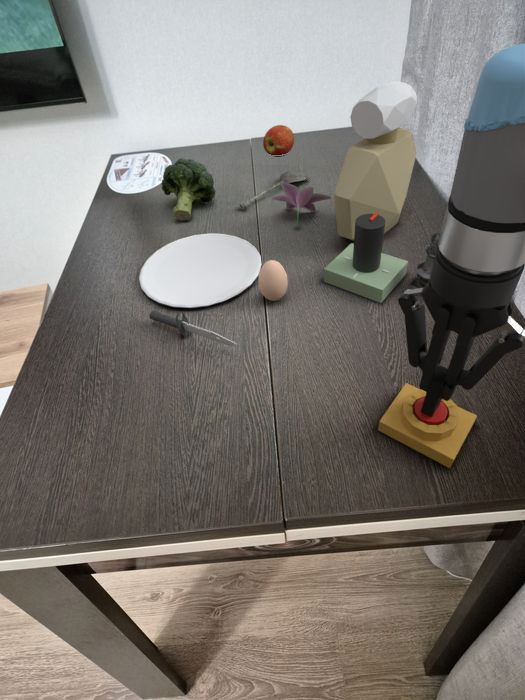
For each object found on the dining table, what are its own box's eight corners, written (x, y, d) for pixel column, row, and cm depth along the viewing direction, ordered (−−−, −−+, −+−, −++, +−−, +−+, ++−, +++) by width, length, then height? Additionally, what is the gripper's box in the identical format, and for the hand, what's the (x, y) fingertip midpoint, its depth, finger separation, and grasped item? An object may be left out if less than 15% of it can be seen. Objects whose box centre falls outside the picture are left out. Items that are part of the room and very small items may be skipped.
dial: (372, 275, 79) (377, 230, 72) (347, 267, 81) (350, 222, 74) (384, 261, 81) (390, 216, 74) (360, 254, 83) (364, 209, 77)
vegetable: (146, 214, 104) (160, 161, 108) (192, 237, 111) (203, 188, 115) (170, 193, 94) (184, 137, 98) (218, 221, 102) (230, 167, 106)
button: (449, 413, 58) (452, 405, 57) (437, 435, 56) (439, 427, 55) (420, 400, 60) (422, 392, 59) (407, 420, 58) (409, 412, 57)
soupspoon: (313, 182, 113) (294, 177, 117) (312, 169, 111) (294, 164, 115) (250, 214, 103) (232, 207, 107) (248, 200, 101) (230, 193, 105)
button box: (473, 424, 59) (481, 407, 56) (449, 468, 55) (457, 452, 52) (403, 392, 64) (408, 374, 61) (377, 430, 60) (380, 413, 57)
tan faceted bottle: (424, 214, 97) (453, 69, 77) (362, 266, 86) (376, 112, 66) (377, 199, 103) (392, 61, 83) (313, 246, 92) (313, 100, 72)
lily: (337, 225, 99) (336, 180, 96) (305, 228, 91) (304, 178, 88) (295, 227, 107) (293, 185, 104) (262, 230, 98) (260, 184, 96)
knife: (244, 350, 72) (239, 327, 68) (236, 359, 70) (230, 337, 67) (160, 320, 81) (152, 298, 77) (151, 327, 79) (142, 306, 76)
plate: (285, 254, 91) (285, 249, 90) (211, 328, 77) (210, 322, 76) (193, 227, 102) (192, 222, 101) (114, 287, 88) (112, 282, 87)
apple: (260, 157, 125) (257, 128, 119) (278, 147, 129) (276, 118, 124) (282, 163, 121) (280, 133, 116) (300, 152, 125) (299, 122, 120)
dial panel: (406, 274, 83) (408, 260, 81) (381, 303, 78) (382, 289, 76) (350, 255, 89) (351, 242, 86) (323, 281, 84) (323, 268, 81)
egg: (254, 300, 81) (249, 263, 76) (273, 286, 84) (269, 249, 78) (276, 311, 79) (272, 274, 73) (294, 296, 81) (292, 259, 75)
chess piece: (450, 294, 78) (467, 235, 69) (417, 297, 78) (429, 238, 70) (441, 274, 82) (455, 216, 73) (409, 277, 82) (420, 219, 74)
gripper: (572, 253, 38) (492, 411, 55) (428, 215, 44) (396, 368, 61) (548, 300, 34) (470, 454, 51) (394, 251, 41) (370, 403, 58)
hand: (430, 407), depth 56 cm, fingers closed
